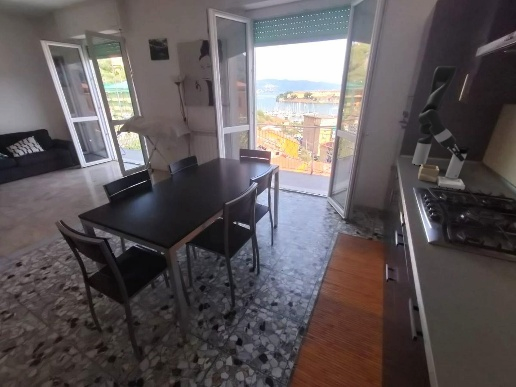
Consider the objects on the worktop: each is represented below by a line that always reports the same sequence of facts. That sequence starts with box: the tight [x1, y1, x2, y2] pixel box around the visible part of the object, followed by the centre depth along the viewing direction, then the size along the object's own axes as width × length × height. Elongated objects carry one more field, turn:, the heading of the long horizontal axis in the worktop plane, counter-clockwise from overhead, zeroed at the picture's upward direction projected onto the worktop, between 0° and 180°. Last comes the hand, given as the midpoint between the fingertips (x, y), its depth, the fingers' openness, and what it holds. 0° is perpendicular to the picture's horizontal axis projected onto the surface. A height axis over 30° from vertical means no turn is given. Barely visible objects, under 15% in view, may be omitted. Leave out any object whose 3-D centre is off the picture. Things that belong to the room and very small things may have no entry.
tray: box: [436, 175, 466, 191], centre depth 149 cm, size 14×13×2 cm
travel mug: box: [444, 146, 471, 180], centre depth 144 cm, size 6×7×20 cm
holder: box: [417, 164, 440, 183], centre depth 159 cm, size 11×10×8 cm
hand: (461, 159), depth 142 cm, fingers closed on travel mug, 6 cm apart
